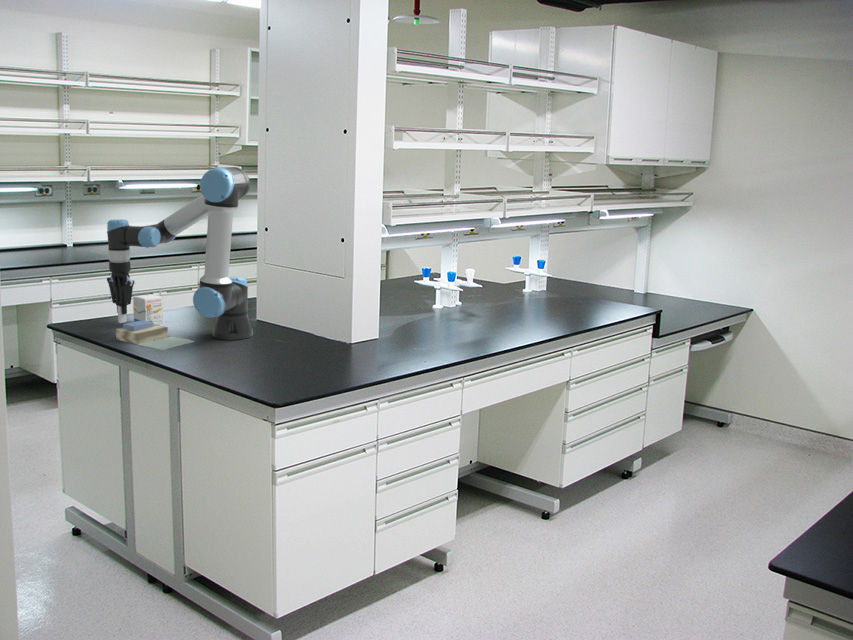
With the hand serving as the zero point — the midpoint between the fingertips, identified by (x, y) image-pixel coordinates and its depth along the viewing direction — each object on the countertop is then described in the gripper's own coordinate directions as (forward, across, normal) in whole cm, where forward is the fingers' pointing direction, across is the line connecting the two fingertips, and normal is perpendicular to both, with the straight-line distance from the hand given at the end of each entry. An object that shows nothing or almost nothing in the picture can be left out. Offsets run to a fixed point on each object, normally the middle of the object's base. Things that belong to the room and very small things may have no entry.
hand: (122, 322), depth 309 cm
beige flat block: (+5, -11, 0) cm, 12 cm away
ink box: (+5, +6, -18) cm, 20 cm away
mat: (+5, -24, 0) cm, 24 cm away
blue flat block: (+1, -9, 0) cm, 9 cm away
